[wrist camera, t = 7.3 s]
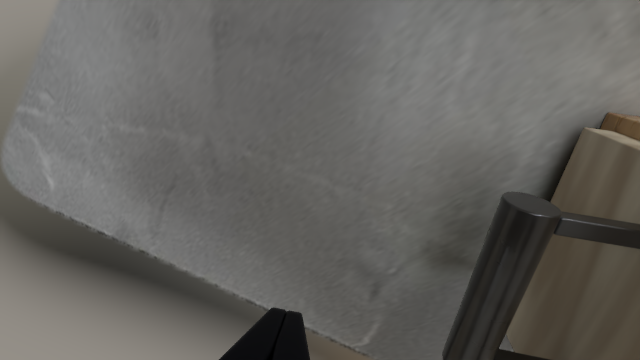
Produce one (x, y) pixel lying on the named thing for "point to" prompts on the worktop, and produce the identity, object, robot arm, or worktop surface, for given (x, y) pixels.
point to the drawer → (561, 265)
